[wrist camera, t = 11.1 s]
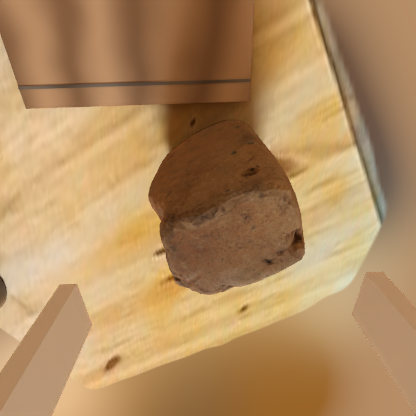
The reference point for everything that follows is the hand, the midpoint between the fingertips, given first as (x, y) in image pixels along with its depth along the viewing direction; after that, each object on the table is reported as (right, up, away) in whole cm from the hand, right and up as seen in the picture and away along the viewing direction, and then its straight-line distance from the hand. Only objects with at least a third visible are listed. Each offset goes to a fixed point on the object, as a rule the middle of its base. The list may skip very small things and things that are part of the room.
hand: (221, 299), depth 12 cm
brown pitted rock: (0, +11, +20) cm, 23 cm away
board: (-8, +21, +15) cm, 27 cm away
